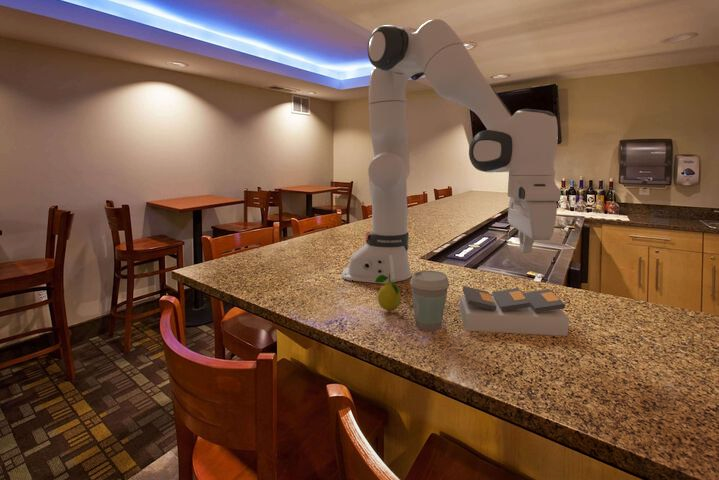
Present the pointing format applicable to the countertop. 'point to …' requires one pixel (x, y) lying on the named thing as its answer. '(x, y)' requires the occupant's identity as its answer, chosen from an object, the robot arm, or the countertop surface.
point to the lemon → (388, 294)
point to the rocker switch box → (513, 320)
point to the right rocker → (544, 300)
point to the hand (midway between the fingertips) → (525, 251)
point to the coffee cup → (429, 299)
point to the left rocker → (479, 298)
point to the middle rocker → (510, 299)
